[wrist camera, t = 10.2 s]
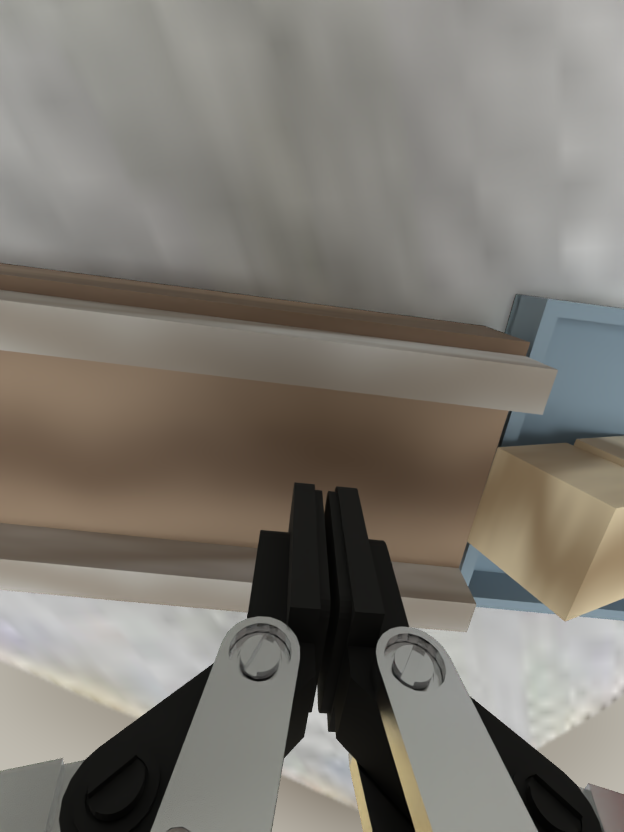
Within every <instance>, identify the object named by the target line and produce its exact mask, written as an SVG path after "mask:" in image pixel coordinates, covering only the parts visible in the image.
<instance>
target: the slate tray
mask: <svg viewBox="0 0 624 832" xmlns="http://www.w3.org/2000/svg"><path fill="white" fill-rule="evenodd" d="M505 334H508V335H511V336H514V337H517V338H519V339H522V340H525V341H528V342H530V345H529V348H528V351H527V354H526V356H527V357H529V358H531V359H534V360H536V361H538V362H541V363H543V364H545V365H548V366H550V367H552V368H555V369H557V370H558V372H557V375H556V378H555V380H554V383H553V386H552V389H551V392H550V395H549V398H548V400H547V403H546V406H545V409H544V412H543V415H540V414H531V413H523V412H515V411H508V414H507V418H506V421H505V424H504V427H503V430H502V433H501V437H500V440H499V443H498V446H497V448H498V447H509V446H524V445H538V444H552V443H568V444H571V445H574V443H575V441H576V439H582V438H597V437H612V436H624V309H623V308H616V307H608V306H601V305H593V304H586V303H579V302H571V301H564V300H556V299H549V298H541V297H534V296H526V295H519V294H516V297H515V300H514V303H513V307H512V310H511V314H510V317H509V321H508V324H507V327H506V331H505ZM496 451H497V449H496ZM495 454H496V452H495ZM494 457H495V456H494ZM493 460H494V459H493ZM492 463H493V462H492ZM491 466H492V465H491ZM490 469H491V468H490ZM489 472H490V471H489ZM488 475H489V474H488ZM487 479H488V478H487ZM486 482H487V481H486ZM485 485H486V484H485ZM484 488H485V487H484ZM483 491H484V490H483ZM482 494H483V493H482ZM459 569H460V571H461V573H462V575H463V578H464V580H465V582H466V584H467V586H468V588H469V590H470V592H471V594H472V596H473V598H474V600H475V602H476V607H484V608H495V609H505V610H516V611H527V612H537V613H548V614H555V613H554V612H553V611H552V610H550V609H549V608H548V607H547V606H545V605H544V604H543V603H542V602H541V601H539V600H538V599H537V598H536V597H534V596H533V595H532V594H531V593H530V592H528V591H527V590H526V589H525V588H523V587H522V586H521V585H520V584H519V583H517V582H516V581H515V580H514V579H512V578H511V577H510V576H509V575H508V574H506V573H505V572H504V571H503V570H501V569H500V568H499V567H498V566H497V565H495V564H494V563H493V562H492V561H490V560H489V559H488V558H487V557H486V556H484V555H483V554H482V553H481V552H479V551H478V550H477V549H476V548H475V547H473V546H472V545H471V544H470V543H468V542H467V544H466V547H465V550H464V554H463V557H462V560H461V563H460V566H459ZM580 617H590V618H601V619H612V620H622V621H624V598H623V599H620V600H618V601H615V602H613V603H610V604H608V605H605V606H603V607H600V608H598V609H595V610H593V611H590V612H588V613H585V614H583V615H580Z"/></svg>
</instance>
